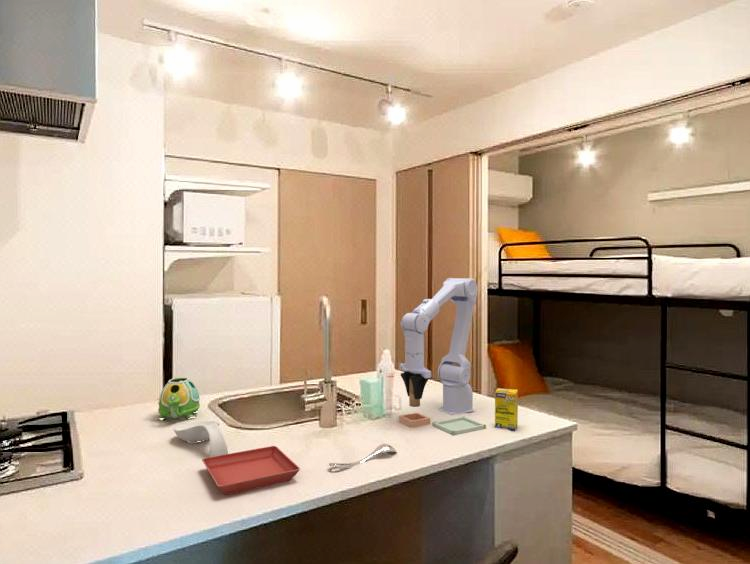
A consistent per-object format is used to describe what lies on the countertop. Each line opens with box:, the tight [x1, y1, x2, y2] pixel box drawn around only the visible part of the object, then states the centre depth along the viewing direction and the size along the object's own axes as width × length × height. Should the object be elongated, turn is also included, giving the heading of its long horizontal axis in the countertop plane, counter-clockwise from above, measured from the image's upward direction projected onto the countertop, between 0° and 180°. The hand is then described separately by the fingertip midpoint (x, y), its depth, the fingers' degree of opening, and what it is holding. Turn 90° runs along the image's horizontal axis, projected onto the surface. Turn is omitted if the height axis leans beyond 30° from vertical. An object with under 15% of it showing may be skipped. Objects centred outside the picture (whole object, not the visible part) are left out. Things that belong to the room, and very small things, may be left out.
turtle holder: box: [157, 377, 201, 419], centre depth 160 cm, size 12×18×12 cm
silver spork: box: [328, 443, 398, 470], centre depth 124 cm, size 20×4×5 cm
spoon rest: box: [173, 420, 229, 458], centre depth 136 cm, size 24×12×7 cm, turn 38°
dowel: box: [408, 378, 421, 408], centre depth 154 cm, size 3×3×8 cm
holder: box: [398, 412, 431, 428], centre depth 154 cm, size 7×7×2 cm
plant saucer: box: [201, 445, 301, 495], centre depth 116 cm, size 18×18×3 cm
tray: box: [432, 416, 487, 436], centre depth 149 cm, size 12×10×1 cm
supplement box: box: [494, 387, 519, 432], centre depth 151 cm, size 6×6×11 cm
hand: (414, 397), depth 154 cm, fingers closed on dowel, 3 cm apart
